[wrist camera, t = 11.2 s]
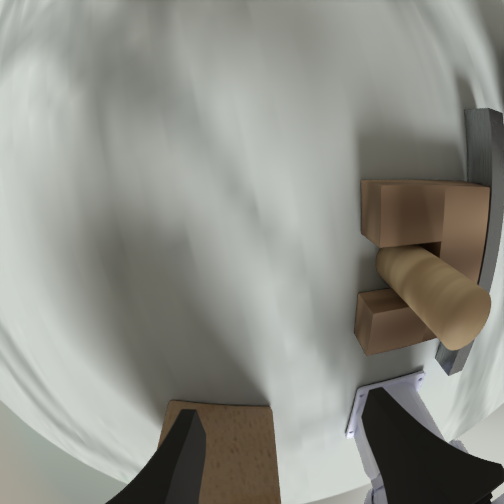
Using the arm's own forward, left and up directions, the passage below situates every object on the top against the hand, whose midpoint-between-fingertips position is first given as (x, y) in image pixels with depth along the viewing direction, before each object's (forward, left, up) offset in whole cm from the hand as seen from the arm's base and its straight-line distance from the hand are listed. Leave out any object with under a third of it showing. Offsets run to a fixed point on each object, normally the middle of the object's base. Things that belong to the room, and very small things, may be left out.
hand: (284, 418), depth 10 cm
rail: (+2, -18, -10) cm, 21 cm away
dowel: (+2, -10, -10) cm, 14 cm away
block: (+2, -12, -10) cm, 16 cm away
